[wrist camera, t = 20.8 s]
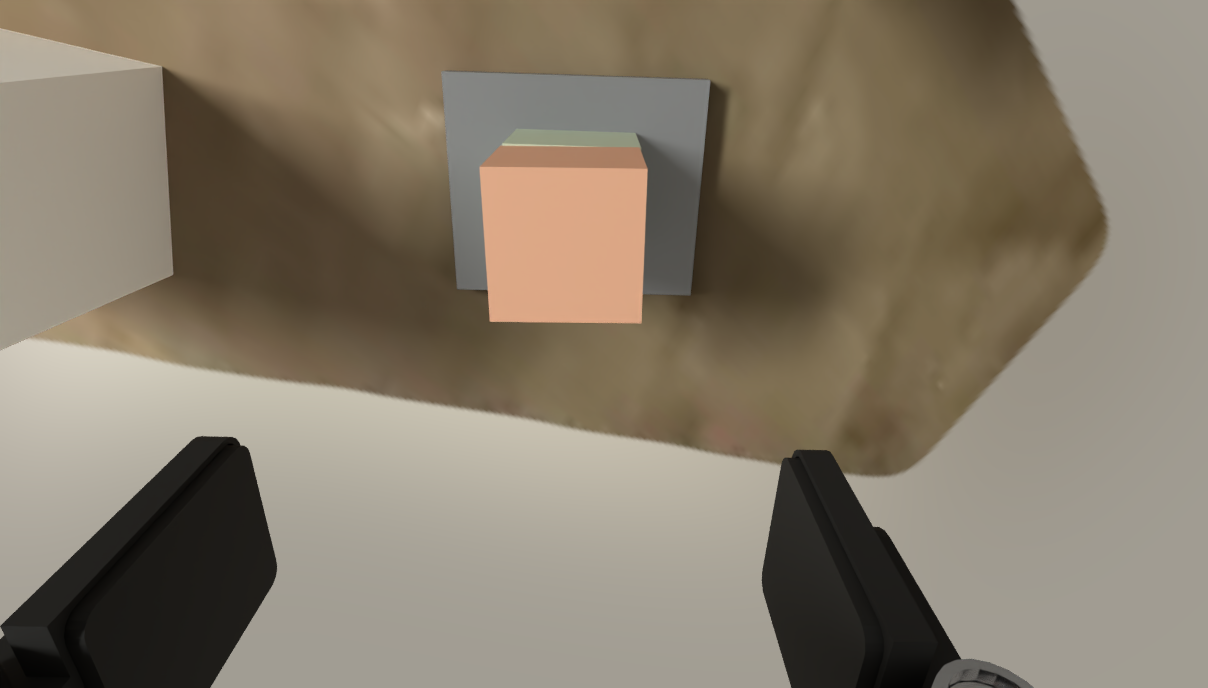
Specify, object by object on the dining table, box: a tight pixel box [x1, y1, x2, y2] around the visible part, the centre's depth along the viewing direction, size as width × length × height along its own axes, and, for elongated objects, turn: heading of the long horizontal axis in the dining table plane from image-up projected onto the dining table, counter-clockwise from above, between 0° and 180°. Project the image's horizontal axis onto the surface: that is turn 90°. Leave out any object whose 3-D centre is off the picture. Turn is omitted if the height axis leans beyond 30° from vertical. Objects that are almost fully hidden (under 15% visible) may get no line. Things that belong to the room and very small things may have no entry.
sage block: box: [502, 129, 641, 150], centre depth 33 cm, size 6×6×6 cm
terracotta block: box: [479, 146, 648, 323], centre depth 28 cm, size 6×6×6 cm
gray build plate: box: [442, 71, 710, 295], centre depth 36 cm, size 12×14×1 cm
